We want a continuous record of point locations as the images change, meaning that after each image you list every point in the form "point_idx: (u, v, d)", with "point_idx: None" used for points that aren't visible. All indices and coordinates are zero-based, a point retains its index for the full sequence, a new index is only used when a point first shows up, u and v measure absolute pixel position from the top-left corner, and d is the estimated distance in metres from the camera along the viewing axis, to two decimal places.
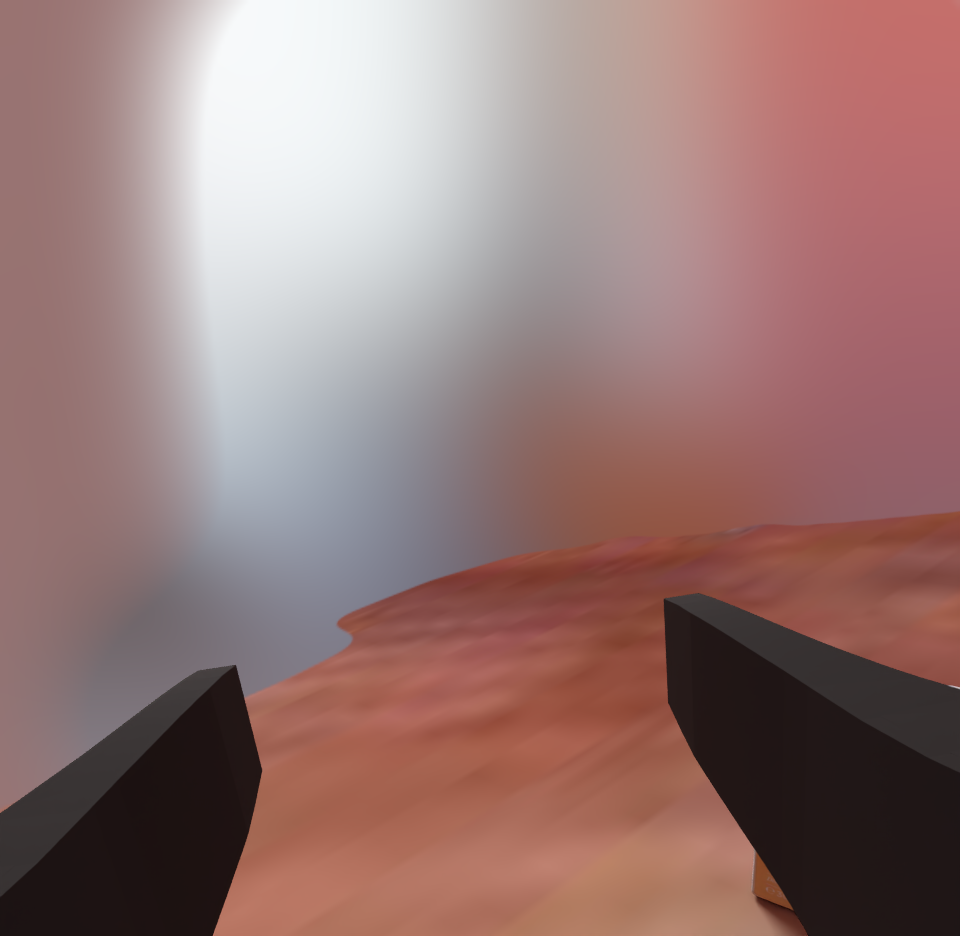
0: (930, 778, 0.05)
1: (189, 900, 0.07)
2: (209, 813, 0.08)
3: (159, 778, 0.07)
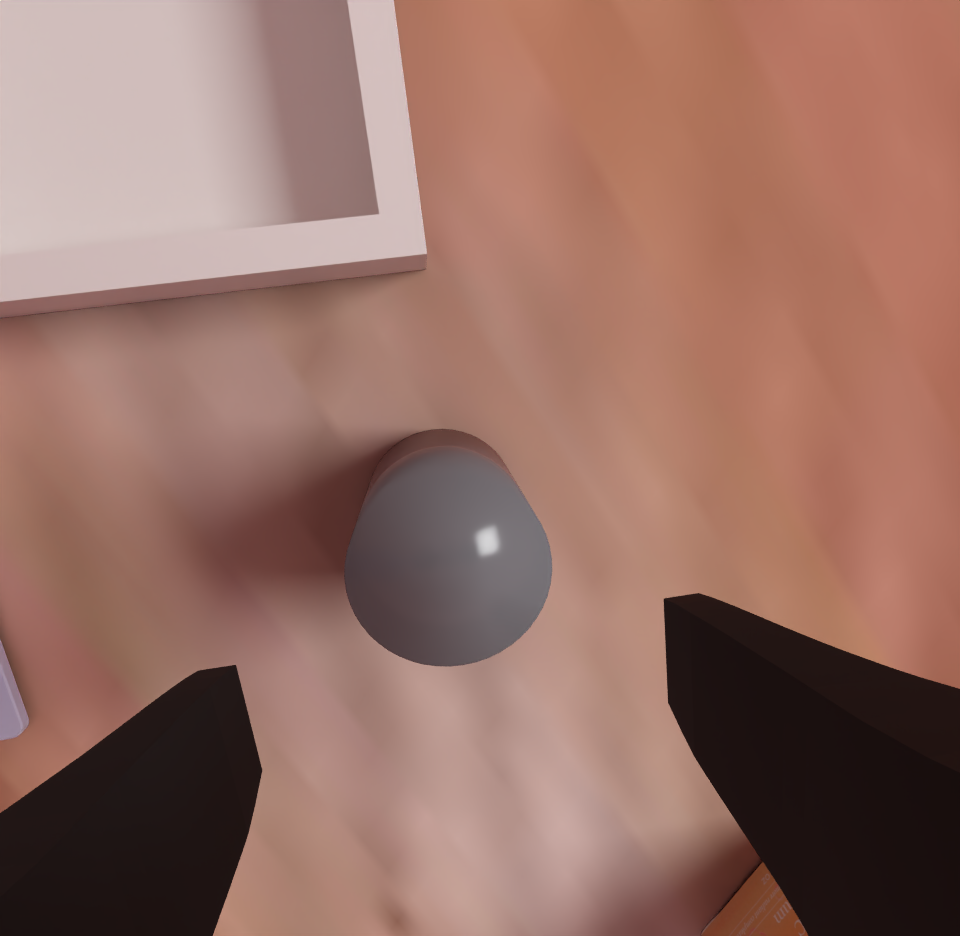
0: (930, 780, 0.05)
1: (189, 900, 0.07)
2: (209, 813, 0.08)
3: (159, 778, 0.07)
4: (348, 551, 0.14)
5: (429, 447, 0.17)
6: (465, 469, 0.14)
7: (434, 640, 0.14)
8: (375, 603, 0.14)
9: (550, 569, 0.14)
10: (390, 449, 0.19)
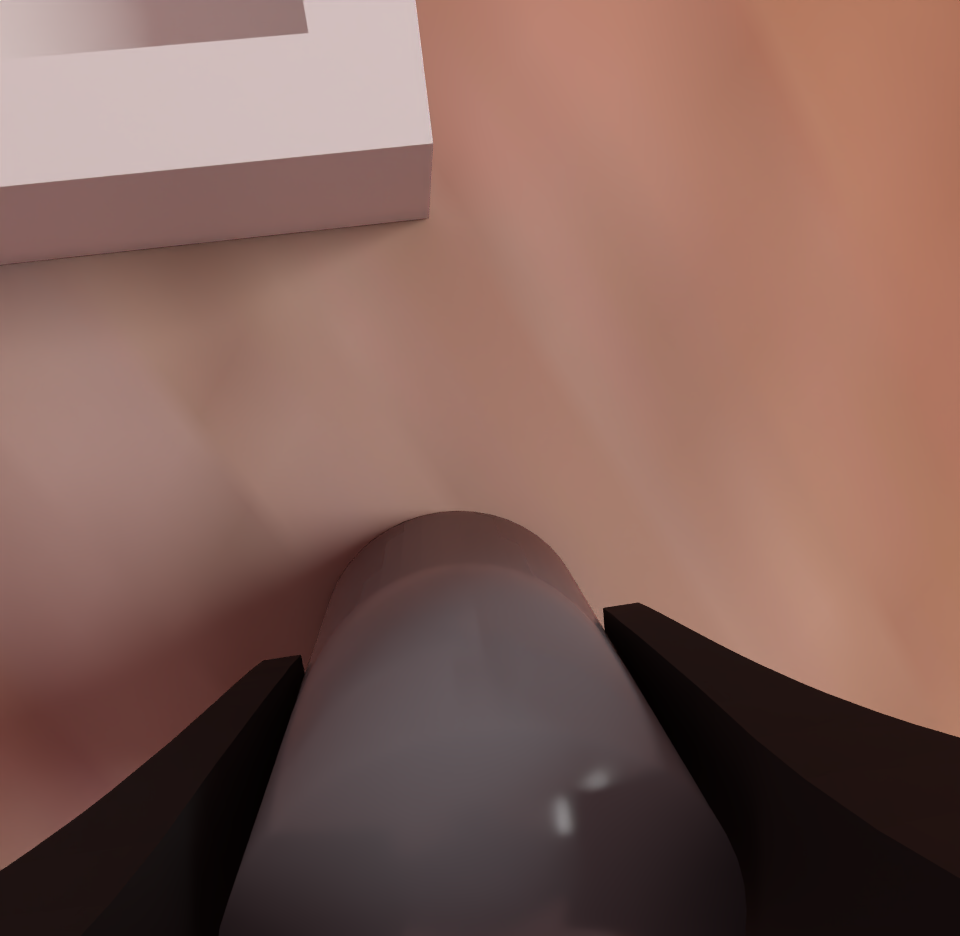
0: (807, 800, 0.05)
1: None
2: None
3: (247, 763, 0.07)
4: (223, 929, 0.05)
5: (436, 577, 0.08)
6: (530, 691, 0.06)
7: None
8: None
9: (741, 933, 0.06)
10: (364, 548, 0.11)
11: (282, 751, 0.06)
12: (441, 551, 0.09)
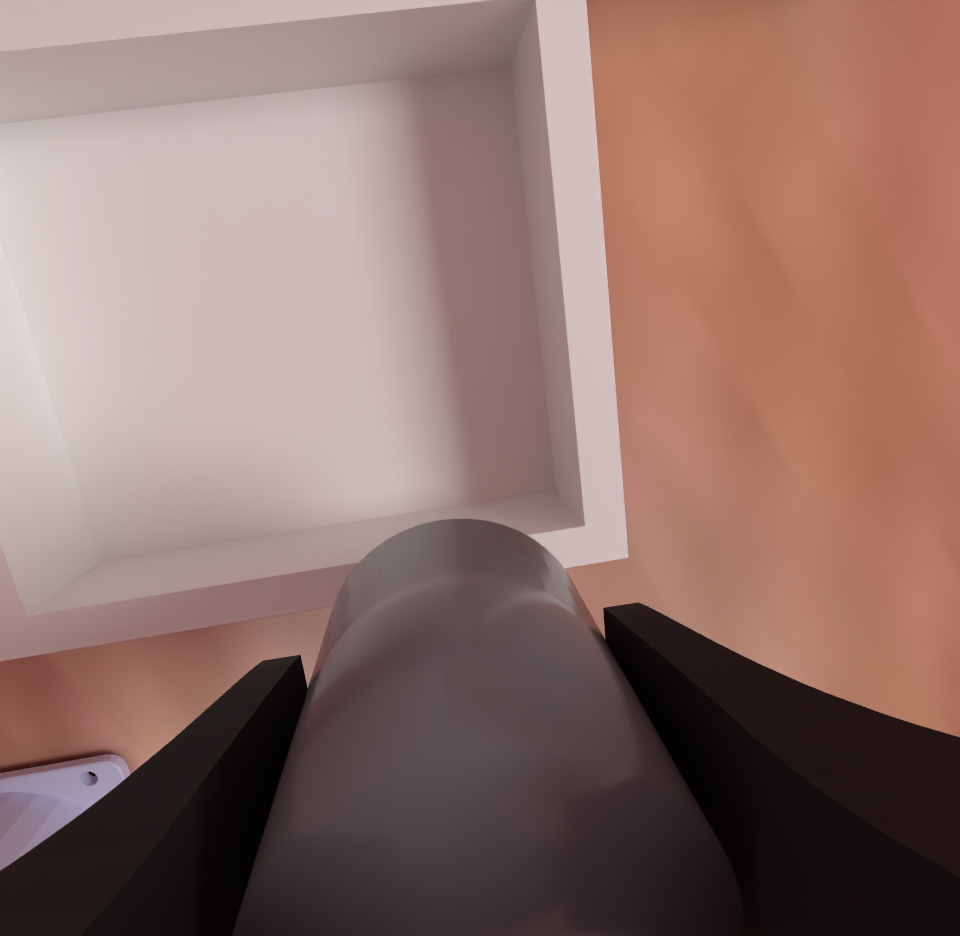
0: (807, 801, 0.05)
1: None
2: None
3: (246, 763, 0.07)
4: None
5: (430, 591, 0.08)
6: (521, 710, 0.06)
7: None
8: None
9: (739, 935, 0.06)
10: (362, 559, 0.11)
11: (284, 773, 0.07)
12: (436, 563, 0.09)
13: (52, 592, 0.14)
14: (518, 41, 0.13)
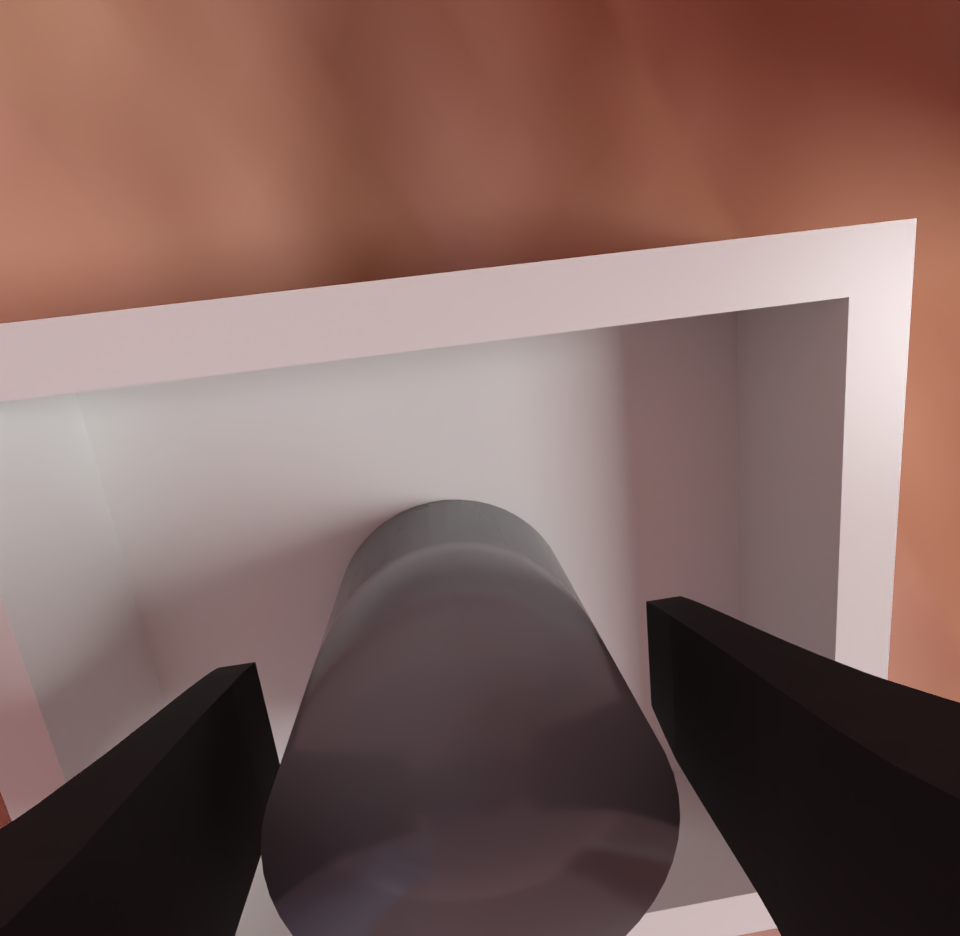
0: (894, 785, 0.05)
1: (214, 895, 0.07)
2: (232, 809, 0.08)
3: (185, 774, 0.07)
4: (264, 829, 0.07)
5: (422, 555, 0.09)
6: (490, 632, 0.07)
7: None
8: (333, 913, 0.07)
9: (677, 815, 0.07)
10: (366, 538, 0.12)
11: (302, 700, 0.08)
12: (428, 534, 0.10)
13: None
14: None
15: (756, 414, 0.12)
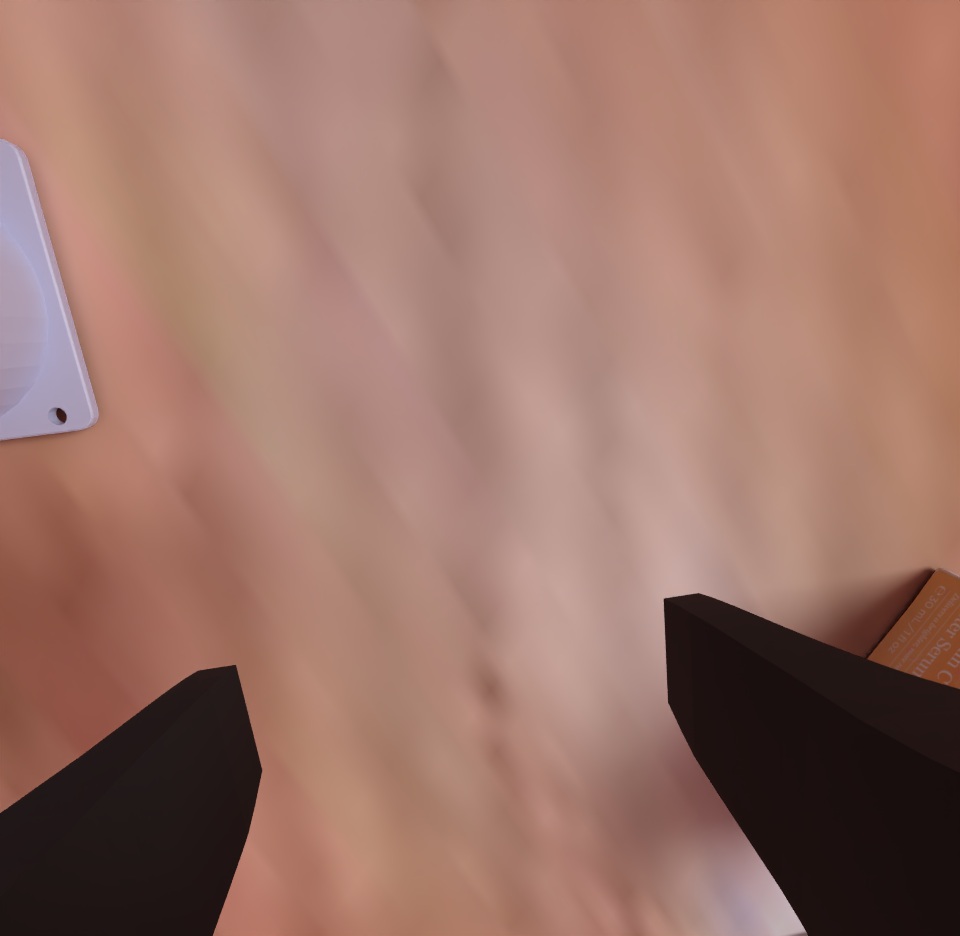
0: (930, 778, 0.05)
1: (189, 900, 0.07)
2: (209, 813, 0.08)
3: (159, 778, 0.07)
4: None
5: None
6: None
7: None
8: None
9: None
10: None
11: None
12: None
13: None
14: None
15: None
